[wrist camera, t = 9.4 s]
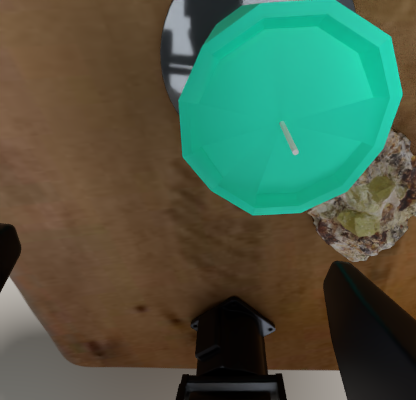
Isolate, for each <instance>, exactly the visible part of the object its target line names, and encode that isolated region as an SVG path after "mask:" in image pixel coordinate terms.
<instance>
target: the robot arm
mask: <svg viewBox="0 0 416 400" xmlns="http://www.w3.org/2000/svg"><path fill="white" fill-rule="evenodd" d="M20 253H21V244H20V241H19V238H18V235H17V232H16V229H15V227H14V226H13V225H11V224H4V223H0V292H1V290H2V288H3V286H4V284H5V282H6V281H7V279H8V277H9V275H10V273H11V271H12V269H13V267H14V265H15V263H16V262H17V260H18V258H19V256H20ZM323 289H324V296H325V302H326V308H327V315H328V321H329V328H330V334H331V339H332V344H333V348H334V352H335V355H336V359H337V363H338V366H339V370H340V374H341V377H342V381H343V385H344V389H345V392H346V396H347V400H416V320H415V319H414V318H413V317H411V316H410V315H409V314H408V313H407V312H406V311H405V310H403V309H402V308H401V307H400V306H399V305H398V304H397V303H395V302H394V301H393V300H392V299H391V298H390V297H389V296H387V295H386V294H385V293H384V292H383V291H382V290H381V289H379V288H378V287H377V286H376V285H375V284H374V283H373V282H371V281H370V280H369V279H368V278H367V277H366V276H365V275H363V274H362V273H361V272H360V271H359V270H358V269H356V268H355V267H354V266H353V265H352V264H351V263H349V262H343V261H334V262H333V263H332V264H331V266H330V269H329V271H328V273H327V275H326V277H325V280H324V284H323ZM191 328H193V329H194V330H196V331H197V340H196V351H195V357H196V358H197V359H198V361H197V374H196V375H189V374H183V375H182V380H181V384H179V388H178V392H177V396H176V400H287V399H286V393H285V388H284V382H283V377H282V374H281V373H279V374H276V375H268V370H267V361H266V352H265V343H264V336H266V335H268V334H270V333H272V332H274V331H275V325H274V324H273V323H271V322H270V321H269V320H267V319H266V318H265V317H263V316H262V315H260V314H259V313H258V312H256V311H255V310H253V309H252V308H251V307H249V306H248V305H247V304H245V303H244V302H242V301H241V300H240V299H238V298H236V297H232V298H230V299H228V300H226V301H224V302H223V303H221V304H219V305H218V306H216V307H214V308H213V309H211V310H209V311H208V312H206V313H204V314H202V315H201V316H199V317H197V318H196V319H194V320H192V321H191Z"/></svg>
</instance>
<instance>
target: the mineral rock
mask: <svg viewBox="0 0 416 400" xmlns="http://www.w3.org/2000/svg"><path fill="white" fill-rule="evenodd" d="M410 144H411V141H410V140H409V139H408V138H407V137H405V135H403V134H402V133H395V132H393V130H392V128H391V129H390V132H389V134H388V137H387V140H386V143H385V145H384V148H383V150H382V151H381V152H380V153H379V155H378V156H377V157H376V158H375V159H374V160H373V162H372V163H371V164H370V165H369V166H368V168H367V169H366V170H365V171H364V172H363V174H362V175H361V176H360V177H359V178H358V179H357V181H356V182H355V183H354V184H353V185H352V187H351V188H350V189H349V190H348V191H347V192H345V193H343V194H341V195H339V196H337V197H334V198H332V199H330V200H328V201H326V202H323V203H321V204H319V205H317V206H315V207H313V208H310V209H308V211H307V213H308V214H309V215H311V216H312V217H313V218H314V224H315V225H316V231H317V232H318V234H319V235H320V236H321V237H322V238H323V239H324V240H325V242H326V243H327V244H328V245H331V246H332V247H333V248H334V249H335V250H336V251H338V252H339V253H340V254H342V255H343V256H345V257H346V258H347V259H349V260H350V261H352V262H358V261H360V260H363V261H366V260H367V258H368V257H369V256H374V255H378V252H379V251H381V250H383V249H387V248H390V247H391V246H393V245H394V243H395V242H396V241H397V240H398V239H399V238H400V237H401V236H402V235H403V234H404V233H405V232H406V230H407V229H408V226H407V222H408V219H409V217H410V216H415V217H416V156H414V155H413V154H412V153H411V151H410Z"/></svg>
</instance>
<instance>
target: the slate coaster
mask: <svg viewBox="0 0 416 400" xmlns="http://www.w3.org/2000/svg"><path fill="white" fill-rule="evenodd" d="M286 1H301V0H173V1H172V3H171V5H170V7H169V10H168V13H167V16H166V19H165V22H164V27H163V31H162V37H161V48H160V55H161V69H162V76H163V80H164V84H165V87H166V90H167V93H168V95H169V98H170V100H171V102H172V104H173V106H174V108H175V109H176V111H177V113H178V114H179V102H178V100H179V98H180V96H181V93H182V91H183V89H184V87H185V84H186V82H187V80H188V77H189V75H190V73H191V71H192V68H193V66H194V64H195V62H196V59H197V57H198V55H199V52H200V50H201V48H202V46H203V44H204V43H205V41H206V39H207V38H208V36H209V35H210V33H211V32H212V30H213V29H214V27H215V26H216V24H217V23H219V22H220V21H221V20H223V19H224V18H226V17H227V16H228V15H230V14H231V13H232V12H234V11H235V10H236V9H238V8H239V7H240V6H242V5H250V4H257V3H270V2H286ZM336 1H338V2H339V3H341V4H342V5H344V6H345V7H347V8H348V9H350V10H351V11H353V12H354V13H356V11H355V6H354V3H353V0H336Z"/></svg>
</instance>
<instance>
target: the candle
mask: <svg viewBox="0 0 416 400" xmlns="http://www.w3.org/2000/svg"><path fill="white" fill-rule="evenodd" d="M402 95H403V93H402V88H401V83H400V78H399V73H398V68H397V63H396V58H395V54H394V49H393V44H392V39H391V36H389V35H388V34H386V33H385V32H383V31H382V30H380V29H379V28H377V27H376V26H374V25H373V24H371V23H370V22H368V21H367V20H365V19H364V18H362V17H361V16H359V15H357V14H356V13H354V12H353V11H351V10H350V9H348V8H347V7H345V6H344V5H342V4H341V3H339V2H338V1H336V0H301V1H286V2H270V3H257V4H250V5H242V6H240V7H239V8H238V9H236V10H235V11H234V12H232V13H231V14H230V15H228V16H227V17H226V18H224V19H223V20H221V21H220V22H219V23H217V24H216V26H215V27H214V29H213V30H212V32H211V33H210V35H209V36H208V38H207V39H206V41H205V43H204V44H203V46H202V48H201V50H200V52H199V55H198V57H197V59H196V62H195V64H194V66H193V68H192V71H191V73H190V75H189V77H188V80H187V82H186V84H185V87H184V89H183V91H182V93H181V96H180V98H179V100H178V102H179V116H180V130H181V144H182V157H183V158H184V159H185V161H186V162H187V163H188V164H189V165H190V167H191V168H192V169H193V170H194V171H195V172H196V174H197V175H198V176H199V177H200V178H201V179H202V181H203V182H204V183H205V184H206V185H207V187H208V188H209V189H210V190H211V191H212V192H214V193H216V194H217V195H219V196H221V197H222V198H224V199H226V200H227V201H229V202H231V203H233V204H234V205H236V206H238V207H239V208H241V209H243V210H244V211H246V212H248V213H249V214H251V215H272V214H292V213H302V212H304V211H306V210H308V209H310V208H313V207H315V206H317V205H319V204H321V203H323V202H326V201H328V200H330V199H332V198H334V197H337V196H339V195H341V194H343V193H345V192H347V191H348V190H349V189H350V188H351V187H352V185H353V184H354V183H355V182H356V181H357V179H358V178H359V177H360V176H361V175H362V174H363V172H364V171H365V170H366V169H367V168H368V166H369V165H370V164H371V163H372V162H373V160H374V159H375V158H376V157H377V156H378V155H379V153H380V152H381V151H382V150H383V148H384V145H385V143H386V140H387V137H388V134H389V132H390V129H391V126H392V123H393V120H394V118H395V115H396V112H397V109H398V107H399V104H400V101H401V98H402Z"/></svg>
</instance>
